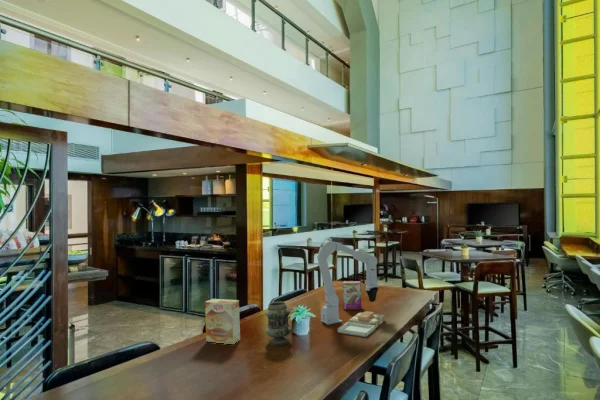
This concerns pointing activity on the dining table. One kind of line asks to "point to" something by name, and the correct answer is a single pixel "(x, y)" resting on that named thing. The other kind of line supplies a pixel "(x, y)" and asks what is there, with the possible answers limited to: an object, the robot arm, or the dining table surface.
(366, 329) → the box
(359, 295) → the candy bar box
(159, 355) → the dining table surface
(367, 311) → the back tile
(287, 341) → the carved stone vase
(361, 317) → the front tile
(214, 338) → the coffeecake box
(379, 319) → the plate
